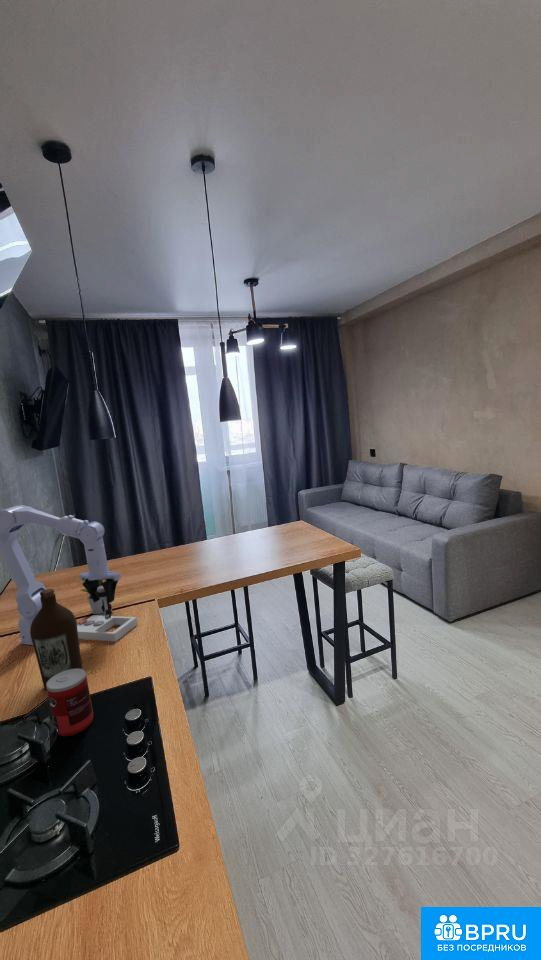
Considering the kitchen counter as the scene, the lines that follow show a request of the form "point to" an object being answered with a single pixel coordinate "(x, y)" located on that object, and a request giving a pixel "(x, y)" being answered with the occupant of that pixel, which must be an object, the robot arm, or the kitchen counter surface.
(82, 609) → the kitchen counter surface
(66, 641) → the olive oil
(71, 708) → the canned food
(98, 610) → the house plant
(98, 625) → the control panel
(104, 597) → the push button
